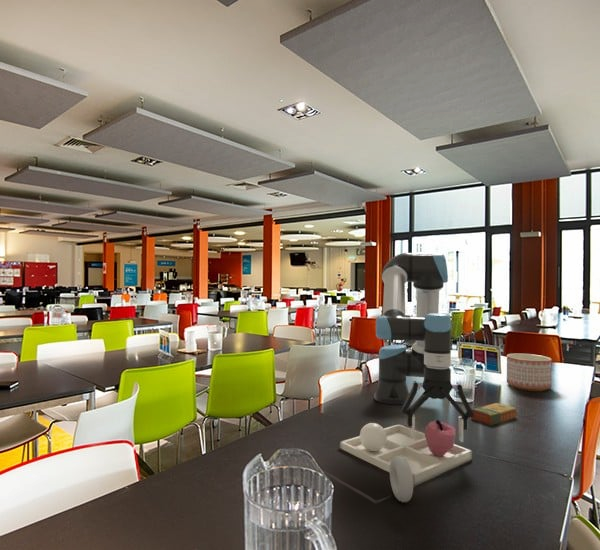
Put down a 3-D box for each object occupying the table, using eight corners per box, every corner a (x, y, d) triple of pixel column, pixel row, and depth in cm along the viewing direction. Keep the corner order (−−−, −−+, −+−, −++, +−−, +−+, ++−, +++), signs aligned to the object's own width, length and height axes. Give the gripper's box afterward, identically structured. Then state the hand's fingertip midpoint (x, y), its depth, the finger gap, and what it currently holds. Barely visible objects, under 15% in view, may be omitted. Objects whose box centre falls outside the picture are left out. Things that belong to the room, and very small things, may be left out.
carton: (516, 418, 158) (516, 407, 158) (491, 426, 150) (491, 414, 150) (496, 412, 165) (496, 401, 165) (470, 419, 157) (470, 408, 157)
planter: (551, 385, 208) (552, 356, 208) (550, 394, 191) (550, 362, 191) (508, 380, 218) (509, 352, 218) (504, 388, 202) (504, 357, 202)
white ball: (354, 449, 126) (354, 422, 126) (372, 443, 131) (372, 417, 131) (373, 458, 120) (373, 430, 120) (392, 451, 125) (392, 424, 125)
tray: (339, 450, 127) (340, 441, 127) (398, 431, 143) (398, 424, 143) (412, 486, 105) (412, 476, 105) (471, 459, 121) (471, 450, 121)
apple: (447, 464, 117) (455, 430, 116) (417, 451, 121) (424, 418, 120) (454, 454, 125) (461, 422, 124) (425, 442, 129) (432, 411, 129)
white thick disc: (387, 489, 103) (387, 448, 104) (401, 488, 104) (401, 448, 104) (400, 511, 94) (400, 466, 94) (415, 511, 94) (415, 466, 94)
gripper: (394, 367, 121) (394, 440, 121) (485, 371, 117) (485, 446, 117) (392, 362, 128) (392, 431, 128) (478, 365, 125) (477, 436, 125)
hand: (436, 439), depth 123 cm, fingers open, 13 cm apart
